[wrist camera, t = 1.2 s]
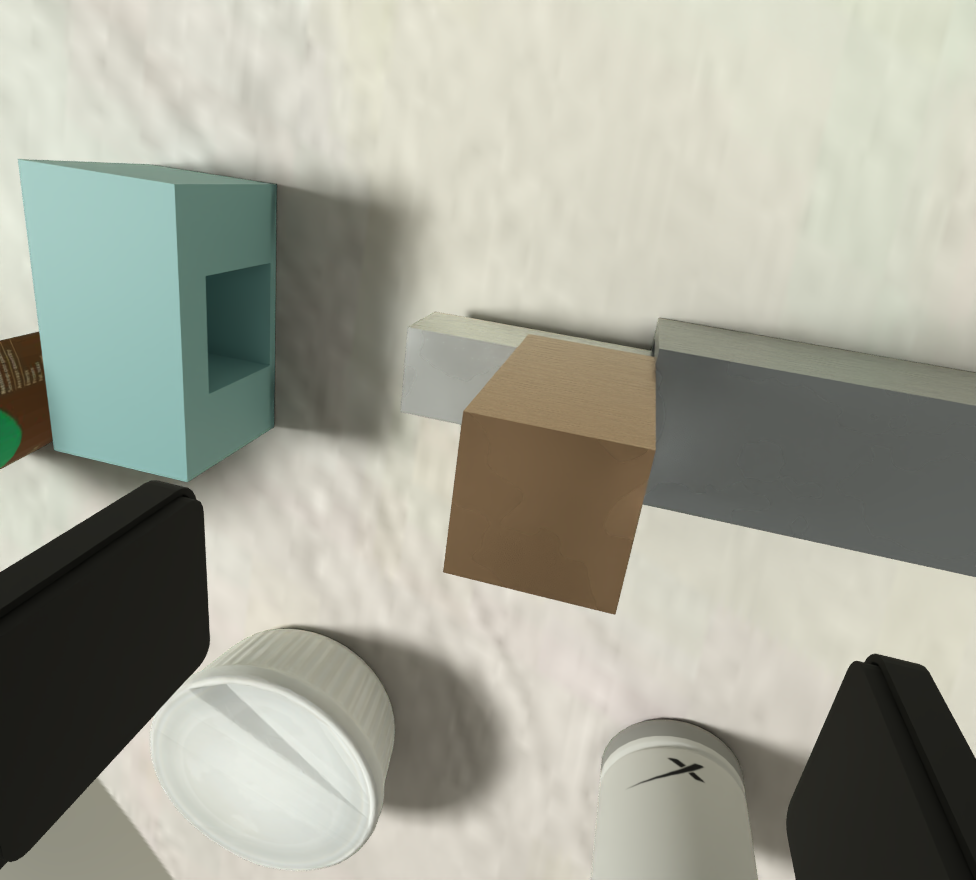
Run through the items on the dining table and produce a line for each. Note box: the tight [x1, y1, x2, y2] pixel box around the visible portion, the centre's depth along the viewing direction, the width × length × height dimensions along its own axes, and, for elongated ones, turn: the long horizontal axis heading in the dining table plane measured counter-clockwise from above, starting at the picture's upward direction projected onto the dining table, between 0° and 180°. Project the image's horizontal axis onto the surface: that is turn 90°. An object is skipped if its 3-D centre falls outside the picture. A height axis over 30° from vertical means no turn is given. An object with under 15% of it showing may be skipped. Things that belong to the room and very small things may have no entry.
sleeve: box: [643, 318, 976, 577], centre depth 22 cm, size 12×5×5 cm, turn 82°
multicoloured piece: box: [401, 312, 656, 614], centre depth 19 cm, size 19×4×11 cm, turn 82°
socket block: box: [18, 159, 277, 482], centre depth 25 cm, size 6×10×6 cm, turn 172°
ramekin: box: [150, 629, 395, 871], centre depth 32 cm, size 11×11×5 cm
